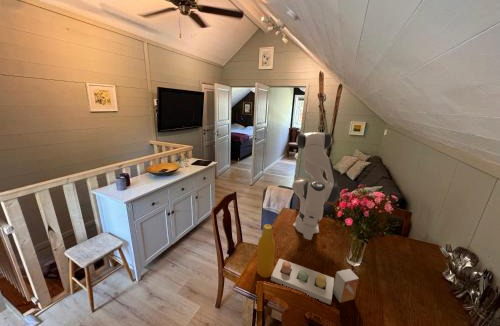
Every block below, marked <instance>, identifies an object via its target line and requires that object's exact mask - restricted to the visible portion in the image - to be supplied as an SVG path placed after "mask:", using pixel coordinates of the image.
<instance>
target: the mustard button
mask: <svg viewBox="0 0 500 326" xmlns="http://www.w3.org/2000/svg"><path fill="white" fill-rule="evenodd" d="M324 275H325V274H324ZM324 275H323V273H321V274H318V275H317V277H316V282H315V286H316V287H319V288H321V289H324V288H326V286H325V284H326V277H325V276H324Z"/></svg>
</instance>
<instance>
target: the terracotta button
mask: <svg viewBox="0 0 500 326" xmlns="http://www.w3.org/2000/svg"><path fill="white" fill-rule="evenodd" d="M287 261H288V260H285V262H283V263H282V271H281V273H283V274H285V275H288V276H289V275H290V270H291V264H290V263H289V262H290V261H288V262H287Z"/></svg>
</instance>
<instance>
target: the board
mask: <svg viewBox="0 0 500 326" xmlns="http://www.w3.org/2000/svg"><path fill="white" fill-rule="evenodd" d="M285 261H287V262H289V263H290V264H291V270H290V274H288V275H285V274H283V273H282V263H283V262H285ZM301 270H303V271H306V272H307V274H308V276H307V282H303V281H301V280H298V273H299V271H301ZM318 274H323V273H321V272H319V271H316V270H313V269H310V268H307V267H305V266H303V265H299V264H297V263H293V262H291V261H288V260H285V259H283V258H279V259H278V261H277V262H276V264H275V267H274V268H273V273H272V275H271V276H270V281H272V282H275V283H276V284H279V285H281V286H283V287H286V286H287V287H286V288H288V287H290V288H289V289H291V288H293V289H297V290H300V291H302V292H304V293H306V294H307V295H306V296H308V295H309V296H308V297H311V298H313V299H315V298H316V299H315V300H317V299H319V300H318V301H320V302H323V303H325V304H327V305H330V306H331V305H332V299H333V286H334V281H335V278H334V277H332V276H329V275H328V274H327V275H326V274H325V273H324V274H323V275H324V276H325V277H326V284H325V287H324V288H325V289H324V288H319V287H317V286H316V277H317V275H318ZM282 284H283V285H282ZM293 289H292V290H293Z"/></svg>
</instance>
